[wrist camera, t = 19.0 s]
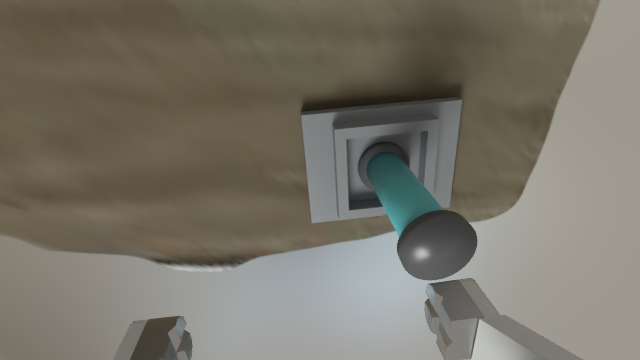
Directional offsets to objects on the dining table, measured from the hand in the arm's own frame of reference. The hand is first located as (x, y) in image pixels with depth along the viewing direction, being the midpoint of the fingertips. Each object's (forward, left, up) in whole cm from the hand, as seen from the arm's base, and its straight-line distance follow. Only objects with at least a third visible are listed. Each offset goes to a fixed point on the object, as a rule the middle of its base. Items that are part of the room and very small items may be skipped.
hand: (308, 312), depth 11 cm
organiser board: (+10, -8, -29) cm, 32 cm away
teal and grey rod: (+10, -8, -28) cm, 30 cm away
